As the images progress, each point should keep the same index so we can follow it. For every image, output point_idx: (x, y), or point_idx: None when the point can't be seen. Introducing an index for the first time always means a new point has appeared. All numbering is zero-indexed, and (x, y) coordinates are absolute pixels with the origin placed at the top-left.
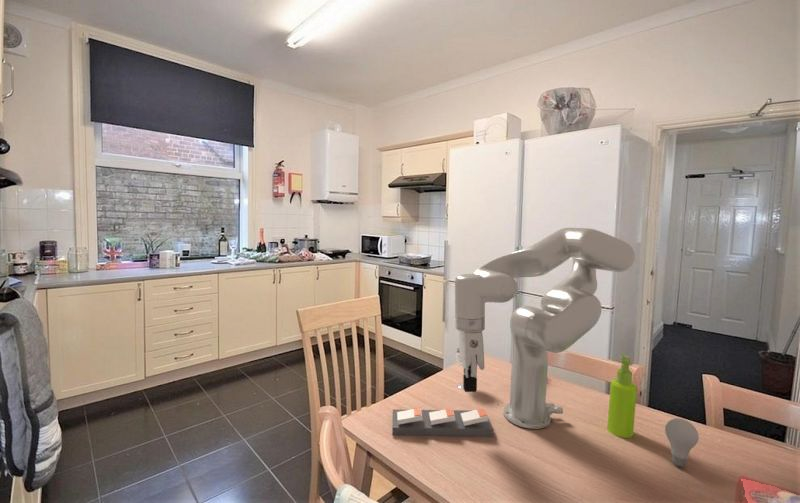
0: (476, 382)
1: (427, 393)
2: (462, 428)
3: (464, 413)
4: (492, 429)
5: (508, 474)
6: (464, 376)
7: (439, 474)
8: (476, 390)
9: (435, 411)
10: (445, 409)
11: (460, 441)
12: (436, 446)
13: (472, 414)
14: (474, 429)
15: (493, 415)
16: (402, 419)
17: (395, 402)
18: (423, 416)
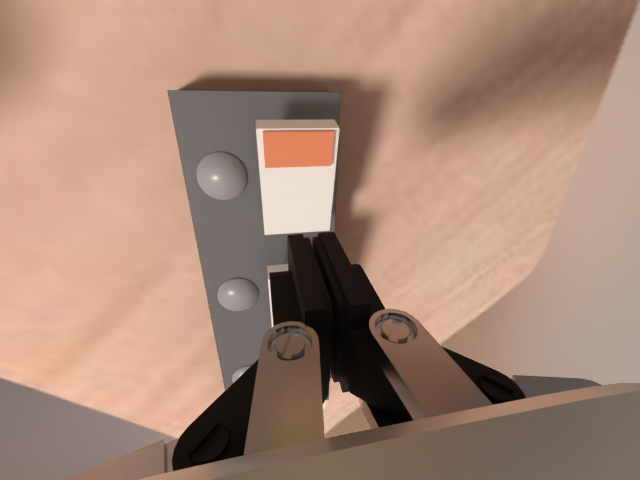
0: (353, 270)
1: (13, 322)
2: (333, 224)
3: (272, 221)
4: (339, 98)
5: (526, 100)
6: (343, 390)
7: (476, 281)
8: (332, 233)
9: (272, 326)
10: (270, 300)
11: (357, 222)
12: (376, 287)
13: (294, 192)
14: (336, 178)
15: (141, 30)
16: (325, 400)
17: (140, 402)
18: (261, 340)
